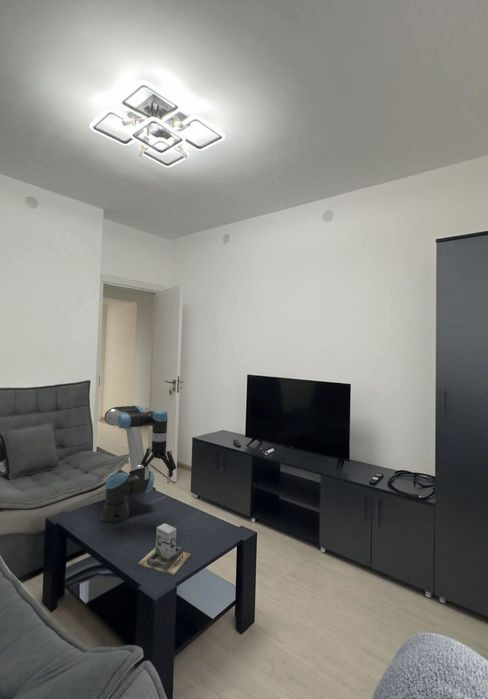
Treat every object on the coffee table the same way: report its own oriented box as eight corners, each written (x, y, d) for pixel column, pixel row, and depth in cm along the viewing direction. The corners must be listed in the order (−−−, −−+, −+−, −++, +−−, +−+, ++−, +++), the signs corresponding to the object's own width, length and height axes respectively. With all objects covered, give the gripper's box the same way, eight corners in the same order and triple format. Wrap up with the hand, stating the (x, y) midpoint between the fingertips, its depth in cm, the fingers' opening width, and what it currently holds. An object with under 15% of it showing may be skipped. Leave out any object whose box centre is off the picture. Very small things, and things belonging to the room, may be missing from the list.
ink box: (154, 552, 158) (155, 526, 158) (162, 548, 162) (163, 522, 162) (167, 559, 153) (168, 532, 153) (176, 554, 157) (177, 528, 157)
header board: (138, 565, 153) (138, 558, 153) (157, 547, 167) (157, 541, 167) (174, 575, 147) (174, 568, 147) (190, 555, 161) (191, 549, 161)
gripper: (134, 439, 183) (133, 479, 182) (176, 444, 174) (174, 487, 174) (143, 436, 190) (142, 474, 189) (183, 441, 181) (182, 482, 181)
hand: (157, 480), depth 182 cm, fingers open, 13 cm apart
